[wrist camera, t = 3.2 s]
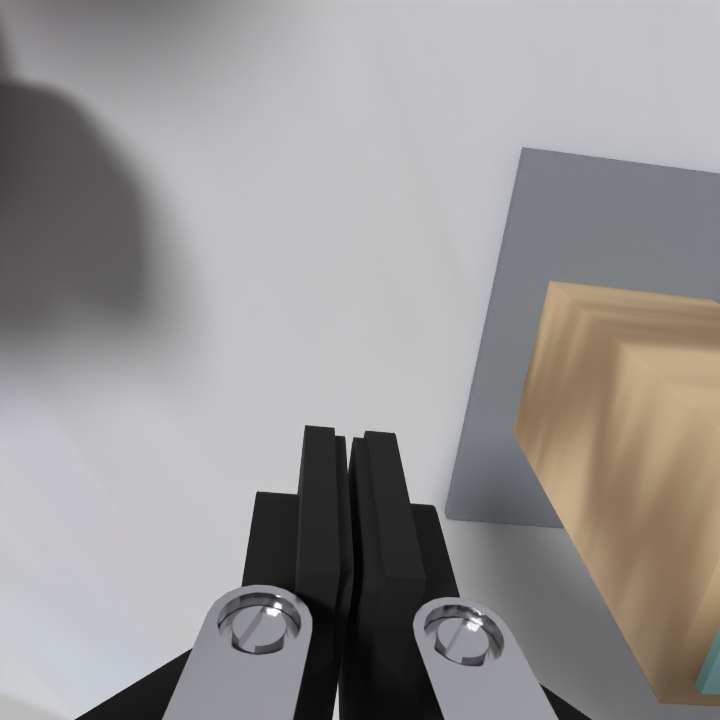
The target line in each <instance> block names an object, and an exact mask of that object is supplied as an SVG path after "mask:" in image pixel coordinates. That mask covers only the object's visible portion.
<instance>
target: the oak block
mask: <svg viewBox="0 0 720 720" xmlns="http://www.w3.org/2000/svg"><path fill="white" fill-rule="evenodd" d="M512 432H513V434H514V436H515V437H516V439H517V441H518V443H519V445H520V447H521V449H522V450H523V452H524V454H525V456H526V458H527V460H528V461H529V463H530V465H531V467H532V469H533V471H534V473H535V474H536V476H537V478H538V480H539V482H540V484H541V485H542V487H543V489H544V491H545V493H546V495H547V496H548V498H549V500H550V502H551V504H552V506H553V508H554V509H555V511H556V513H557V515H558V517H559V519H560V520H561V522H562V524H563V526H564V528H565V530H566V531H567V533H568V535H569V537H570V539H571V541H572V543H573V544H574V546H575V548H576V550H577V552H578V554H579V555H580V557H581V559H582V561H583V563H584V565H585V567H586V568H587V570H588V572H589V574H590V576H591V578H592V579H593V581H594V583H595V585H596V587H597V589H598V590H599V592H600V594H601V596H602V598H603V600H604V602H605V603H606V605H607V607H608V609H609V611H610V613H611V614H612V616H613V618H614V620H615V622H616V624H617V626H618V627H619V629H620V631H621V633H622V635H623V637H624V638H625V640H626V642H627V644H628V646H629V648H630V649H631V651H632V653H633V655H634V657H635V659H636V661H637V662H638V664H639V666H640V668H641V670H642V672H643V673H644V675H645V677H646V679H647V681H648V683H649V684H650V686H651V688H652V690H653V692H654V694H655V696H656V697H657V699H658V701H659V703H668V704H688V705H708V706H720V304H719V303H717V302H716V301H714V300H712V299H706V298H697V297H688V296H679V295H671V294H662V293H653V292H644V291H636V290H627V289H618V288H609V287H601V286H592V285H583V284H574V283H566V282H557V281H549V285H548V289H547V293H546V297H545V301H544V305H543V309H542V313H541V318H540V322H539V326H538V330H537V334H536V338H535V342H534V346H533V350H532V354H531V358H530V362H529V366H528V370H527V374H526V379H525V383H524V387H523V391H522V395H521V399H520V403H519V407H518V411H517V415H516V419H515V423H514V427H513V431H512Z"/></svg>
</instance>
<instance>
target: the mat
mask: <svg viewBox="0 0 720 720" xmlns="http://www.w3.org/2000/svg"><path fill="white" fill-rule="evenodd" d="M549 281H557V282H566V283H574V284H583V285H592V286H601V287H609V288H618V289H627V290H636V291H644V292H653V293H662V294H671V295H679V296H688V297H697V298H706V299H712V300H714V301H716V302H717V303H719V304H720V174H718V173H710V172H703V171H696V170H688V169H681V168H673V167H666V166H658V165H651V164H643V163H636V162H628V161H621V160H614V159H606V158H599V157H591V156H584V155H576V154H569V153H561V152H554V151H546V150H539V149H532V148H524V147H522V151H521V156H520V161H519V166H518V170H517V175H516V180H515V184H514V189H513V194H512V198H511V203H510V208H509V213H508V217H507V222H506V227H505V231H504V236H503V241H502V245H501V250H500V255H499V260H498V264H497V269H496V274H495V278H494V283H493V288H492V292H491V297H490V302H489V306H488V311H487V316H486V321H485V325H484V330H483V335H482V339H481V344H480V349H479V353H478V358H477V363H476V368H475V372H474V377H473V382H472V386H471V391H470V396H469V400H468V405H467V410H466V415H465V419H464V424H463V429H462V433H461V438H460V443H459V447H458V452H457V457H456V462H455V466H454V471H453V476H452V480H451V485H450V490H449V494H448V499H447V504H446V508H445V515H446V518H447V519H452V520H465V521H478V522H491V523H504V524H517V525H530V526H543V527H557V528H564V526H563V524H562V522H561V520H560V519H559V517H558V515H557V513H556V511H555V509H554V508H553V506H552V504H551V502H550V500H549V498H548V496H547V495H546V493H545V491H544V489H543V487H542V485H541V484H540V482H539V480H538V478H537V476H536V474H535V473H534V471H533V469H532V467H531V465H530V463H529V461H528V460H527V458H526V456H525V454H524V452H523V450H522V449H521V447H520V445H519V443H518V441H517V439H516V437H515V436H514V434H513V432H512V431H513V427H514V423H515V419H516V415H517V411H518V407H519V403H520V399H521V395H522V391H523V387H524V383H525V379H526V374H527V370H528V366H529V362H530V358H531V354H532V350H533V346H534V342H535V338H536V334H537V330H538V326H539V322H540V318H541V313H542V309H543V305H544V301H545V297H546V293H547V289H548V285H549Z"/></svg>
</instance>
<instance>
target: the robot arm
mask: <svg viewBox="0 0 720 720" xmlns="http://www.w3.org/2000/svg"><path fill="white" fill-rule="evenodd" d="M337 685H338V689H339V720H591V719H590V718H588V717H587V716H586V715H584V714H583V713H581V712H580V711H578V710H577V709H575V708H574V707H573V706H571V705H570V704H568V703H567V702H565V701H564V700H563V699H561V698H560V697H558V696H557V695H555V694H554V693H553V692H551V691H550V690H548V689H547V688H545V687H544V686H542V685H541V684H540V683H539V682H538V680H537V678H536V676H535V675H534V673H533V671H532V669H531V667H530V665H529V663H528V661H527V660H526V658H525V656H524V654H523V652H522V650H521V648H520V646H519V645H518V643H517V641H516V639H515V637H514V635H513V633H512V631H511V630H510V629H509V627H508V626H507V624H506V623H505V622H504V620H503V619H502V618H501V617H499V616H498V615H497V614H496V613H495V612H493V611H492V610H491V609H489V608H487V607H485V606H483V605H481V604H479V603H477V602H474V601H471V600H467V599H464V598H460V596H459V592H458V588H457V585H456V581H455V577H454V573H453V570H452V566H451V562H450V559H449V555H448V551H447V548H446V544H445V540H444V537H443V533H442V529H441V525H440V522H439V518H438V514H437V511H436V509H435V507H434V506H433V505H424V504H411V503H410V500H409V496H408V491H407V486H406V482H405V477H404V472H403V467H402V463H401V458H400V453H399V449H398V444H397V439H396V435H395V433H386V432H375V431H365V434H364V438H356V437H354V438H353V442H352V449H351V456H350V463H349V470H347V455H346V441H345V436H335V430H334V428H330V427H319V426H307V425H305V431H304V439H303V448H302V457H301V467H300V476H299V485H298V494H297V495H296V494H283V493H270V492H258V491H257V493H256V498H255V505H254V511H253V517H252V523H251V530H250V536H249V542H248V549H247V555H246V561H245V568H244V574H243V580H242V586H241V587H240V588H237V589H235V590H232V591H230V592H228V593H226V594H225V595H223V596H222V597H221V598H219V599H218V600H217V601H215V603H214V604H213V606H212V607H211V609H210V610H209V612H208V613H207V616H206V618H205V621H204V623H203V625H202V628H201V630H200V632H199V635H198V637H197V639H196V642H195V644H194V646H193V648H192V649H190V650H188V651H187V652H185V653H183V654H182V655H180V656H178V657H177V658H175V659H174V660H172V661H170V662H169V663H167V664H165V665H164V666H162V667H160V668H159V669H157V670H155V671H154V672H152V673H151V674H149V675H147V676H146V677H144V678H142V679H141V680H139V681H137V682H136V683H134V684H133V685H131V686H129V687H128V688H126V689H124V690H123V691H121V692H119V693H118V694H116V695H114V696H113V697H111V698H110V699H108V700H106V701H105V702H103V703H101V704H100V705H98V706H96V707H95V708H93V709H92V710H90V711H88V712H87V713H85V714H83V715H82V716H80V717H78V718H77V719H75V720H332V717H333V711H334V704H335V698H336V692H337Z"/></svg>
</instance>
